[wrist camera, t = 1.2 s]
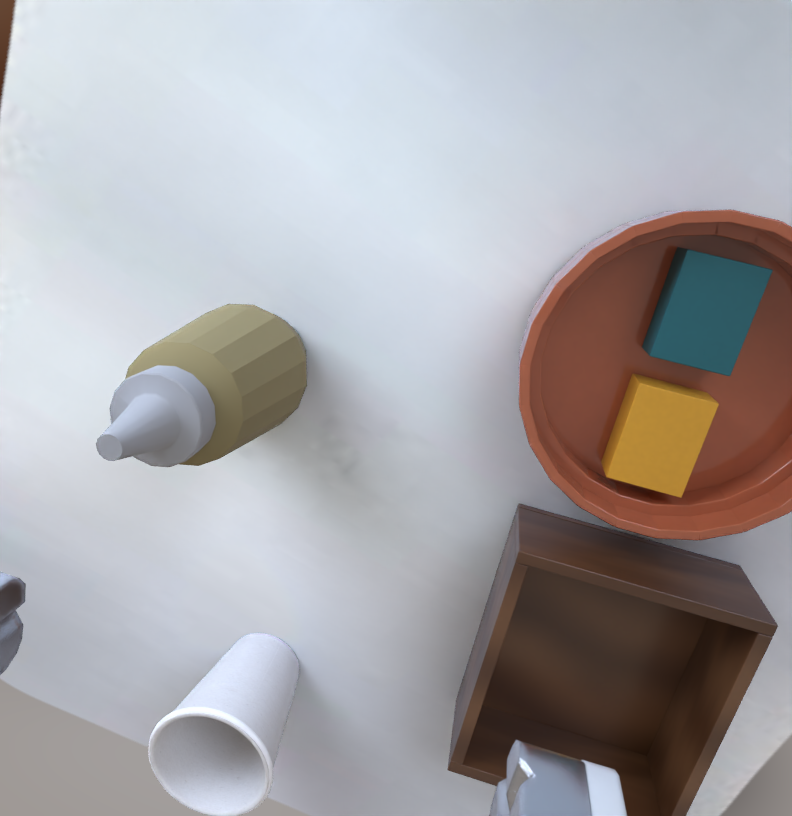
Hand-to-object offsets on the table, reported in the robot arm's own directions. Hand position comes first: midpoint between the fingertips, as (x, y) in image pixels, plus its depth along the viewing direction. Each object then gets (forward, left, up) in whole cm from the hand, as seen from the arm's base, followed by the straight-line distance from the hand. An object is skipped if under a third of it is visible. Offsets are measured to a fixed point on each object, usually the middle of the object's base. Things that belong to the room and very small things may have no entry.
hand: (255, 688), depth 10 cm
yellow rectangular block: (+3, +13, -33) cm, 35 cm away
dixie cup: (+29, -8, -33) cm, 45 cm away
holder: (+18, +14, -33) cm, 41 cm away
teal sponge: (-5, +13, -33) cm, 36 cm away
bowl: (-1, +13, -33) cm, 36 cm away
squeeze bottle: (+5, -12, -33) cm, 36 cm away
